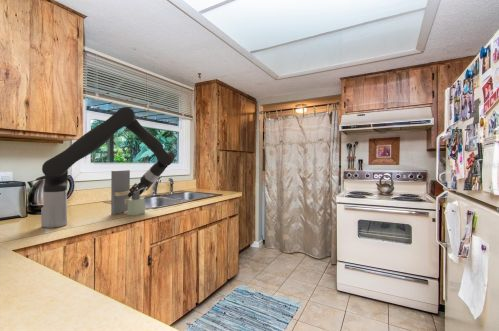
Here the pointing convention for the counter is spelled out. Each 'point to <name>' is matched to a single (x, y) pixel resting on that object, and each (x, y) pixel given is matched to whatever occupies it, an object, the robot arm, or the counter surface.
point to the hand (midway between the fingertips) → (133, 195)
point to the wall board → (119, 190)
